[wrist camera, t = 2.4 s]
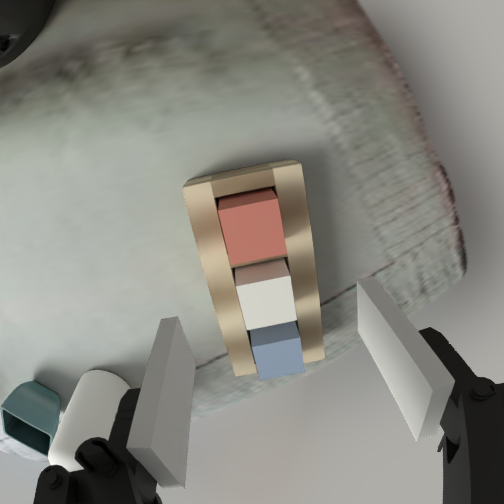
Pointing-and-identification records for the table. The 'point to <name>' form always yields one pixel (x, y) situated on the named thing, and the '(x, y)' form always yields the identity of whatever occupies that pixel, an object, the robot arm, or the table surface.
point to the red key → (252, 225)
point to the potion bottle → (87, 416)
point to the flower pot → (31, 416)
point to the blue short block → (277, 350)
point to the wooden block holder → (297, 259)
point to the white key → (265, 293)
